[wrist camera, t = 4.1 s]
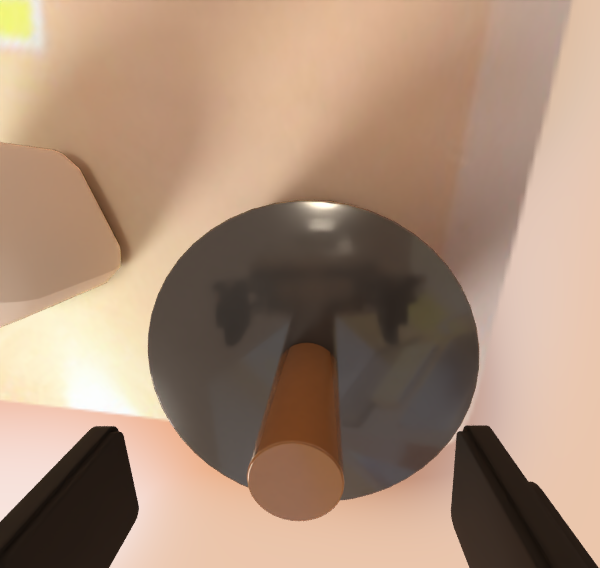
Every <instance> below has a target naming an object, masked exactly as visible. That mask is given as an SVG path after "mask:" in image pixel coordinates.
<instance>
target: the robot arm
mask: <svg viewBox="0 0 600 568" xmlns="http://www.w3.org/2000/svg"><path fill="white" fill-rule="evenodd" d="M138 510H139V506H138V501H137V496H136V492H135V487H134V482H133V477H132V473H131V468H130V463H129V459H128V454H127V450H126V445H125V440H124V436H123V434H122V433H121V432H119V431H118V429H117V428H116V427H114V426H113V427H112V426H102V427H101V426H96V427H93V428H91V429H90V430H89V431H88V432H87V433H86V434H85V435H84V436H83V437H82V438H81V439H80V441H78V443H77V444H76V445H75V446H74V447H73V448H72V449H71V450H70V451H69V452H68V453H67V454H66V455H65V456H64V457H63V458H62V459H61V460H60V461H59V462H58V463H57V464H56V465H55V466H54V467H53V468H52V469H51V470H50V471H49V472H48V473H47V474H46V475H45V476H44V478H42V480H41V481H40V482H39V483H38V484H37V485H36V486H35V487H34V488H33V489H32V490H31V491H30V492H29V493H28V494H27V495H26V496H25V497H24V498H23V499H22V500H21V501H20V502H19V503H18V504H17V505H16V506H15V507H14V508H13V509H12V510H11V511H10V512H9V513H8V515H7V516H6V517H5V518H4V519H3V520H2V521H1V522H0V568H109V567H110V565H111V563H112V561H113V560H114V558H115V556H116V554H117V553H118V551H119V549H120V547H121V546H122V544H123V542H124V540H125V539H126V537H127V535H128V533H129V531H130V530H131V528H132V526H133V524H134V523H135V521H136V518H137V515H138ZM451 517H452V522H453V525H454V529H455V531H456V534H457V537H458V539H459V542H460V544H461V547H462V549H463V552H464V555H465V557H466V560H467V562H468V565H469V568H598V566H597V565H596V564H595V562H594V561H593V560H592V558H591V557H590V555H589V554H588V553H587V551H586V550H585V548H584V547H583V546H582V544H581V543H580V542H579V540H578V539H577V538H576V536H575V535H574V533H573V532H572V531H571V529H570V528H569V526H568V525H567V524H566V522H565V521H564V520H563V519H562V517H561V515H560V514H559V513H558V511H557V510H556V509H555V507H554V506H553V504H552V503H551V502H550V500H549V499H548V498H547V496H546V495H545V494H544V492H543V491H542V489H540V487H539V486H538V485H537V484H535V483H534V482H528V481H527V479H526V478H525V476H524V475H523V474H522V472H521V471H520V469H519V468H518V467H517V465H516V464H515V462H514V461H513V459H512V458H511V456H510V455H509V454H508V452H507V451H506V449H505V448H504V446H503V445H502V444H501V442H500V441H499V439H498V438H497V436H496V435H495V434H494V432H493V431H492V429H491V428H490V427H489V426H465V427H464V429H463V431H459V432H458V433H457V438H456V451H455V464H454V478H453V491H452V504H451Z"/></svg>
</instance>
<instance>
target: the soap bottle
mask: <svg viewBox="0 0 600 568" xmlns="http://www.w3.org/2000/svg"><path fill="white" fill-rule="evenodd" d="M120 266H121V251H120V246H119V244H118V242H117V240H116V238H115V236H114V234H113V232H112V230H111V229H110V227H109V225H108V223H107V221H106V219H105V217H104V215H103V213H102V211H101V209H100V207H99V205H98V203H97V201H96V199H95V198H94V196H93V194H92V192H91V190H90V188H89V186H88V184H87V182H86V180H85V178H84V176H83V174H82V172H81V170H80V169H79V168H78V167H77V166H76V165H75V164H74V163H73V162H72V161H71V160H69V159H68V158H67V157H66V156H65V155H64V154H62V153H60V152H58V151H56V150H51V149H44V148H37V147H30V146H23V145H16V144H9V143H2V142H0V328H1V327H3V326H6V325H8V324H11V323H13V322H16V321H18V320H21V319H23V318H26V317H28V316H30V315H33V314H35V313H37V312H40V311H42V310H44V309H47V308H49V307H51V306H54V305H56V304H58V303H61V302H63V301H65V300H68V299H70V298H72V297H75V296H77V295H79V294H82V293H84V292H86V291H89V290H91V289H94V288H96V287H98V286H101V285H103V284H105V283H107V282H108V280H109V279H110V278H111V277H112V276H113V275H114V274H115V272H116V271H117V270H118V269H119V268H120Z"/></svg>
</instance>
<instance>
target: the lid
mask: <svg viewBox="0 0 600 568" xmlns="http://www.w3.org/2000/svg"><path fill="white" fill-rule="evenodd" d="M148 358H149V366H150V373H151V377H152V381H153V385H154V389H155V392H156V394H157V397H158V399H159V402H160V404H161V407H162V409H163V410H164V412H165V414H166V416H167V418H168V420H169V421H170V423H171V425H172V426H173V427H174V429H175V430H176V432H177V433H178V434H179V436H180V437H181V438H182V440H183V441H184V442H185V443H186V444H187V445H188V446H189V447H190V448H191V449H192V450H193V451H194V453H196V454H197V455H198V456H199V457H200V458H201V459H203V460H204V461H205V462H206V463H207V464H208V465H210V466H211V467H213V468H214V469H216V470H217V471H219V472H220V473H221V474H223V475H224V476H226V477H228V478H230V479H232V480H234V481H235V482H237V483H239V484H241V485H243V486H246V487H248V488H249V490H250V492H251V494H252V496H253V498H254V499H255V501H256V502H257V503H258V504H259V505H260V506H261V507H262V508H263V509H264V510H266V511H267V512H269V513H271V514H272V515H274V516H277V517H279V518H283V519H286V520H291V521H306V520H312V519H316V518H319V517H321V516H323V515H325V514H327V513H328V512H330V511H331V510H332V509H333V508H334V507H335V506H336V505H337V504H338V502H339V501H340V500H347V499H353V498H357V497H362V496H366V495H369V494H373V493H375V492H378V491H381V490H384V489H386V488H389V487H391V486H393V485H395V484H397V483H399V482H401V481H403V480H405V479H407V478H408V477H410V476H411V475H413V474H414V473H416V472H417V471H419V470H420V469H422V468H423V467H424V466H425V465H426V464H428V463H429V462H430V461H431V460H432V459H433V458H435V457H436V456H437V455H438V454H439V453H440V451H441V450H442V449H443V448H444V447H445V446H446V445H447V444H448V442H449V441H450V440H451V439H452V437H453V436H454V434H455V433H456V431H457V430H458V428H459V427H460V425H461V423H462V421H463V419H464V417H465V415H466V413H467V411H468V409H469V407H470V404H471V401H472V398H473V395H474V391H475V388H476V382H477V376H478V370H479V343H478V335H477V328H476V324H475V320H474V317H473V314H472V310H471V307H470V304H469V302H468V300H467V298H466V296H465V294H464V292H463V289H462V287H461V285H460V284H459V282H458V281H457V279H456V278H455V276H454V275H453V273H452V272H451V270H450V269H449V267H448V266H447V265H446V264H445V263H444V262H443V260H442V259H441V258H440V257H439V256H438V255H437V254H436V253H435V252H434V250H433V249H431V248H430V247H429V246H428V245H427V244H426V243H424V242H423V241H422V240H421V239H420V238H418V237H417V236H416V235H415V234H413V233H412V232H410V231H408V230H407V229H405V228H404V227H402V226H400V225H399V224H397V223H396V222H394V221H392V220H390V219H388V218H385V217H383V216H381V215H379V214H376V213H374V212H372V211H369V210H366V209H363V208H359V207H356V206H352V205H349V204H344V203H337V202H331V201H324V200H296V201H288V202H279V203H274V204H270V205H266V206H263V207H259V208H255V209H251V210H249V211H247V212H244V213H242V214H239V215H237V216H235V217H232V218H230V219H228V220H226V221H225V222H223V223H221V224H220V225H218V226H216V227H215V228H213V229H211V230H210V231H209V232H207V233H206V234H205V235H204V236H202V237H201V238H200V239H199V240H197V241H196V242H195V243H194V244H193V245H192V246H191V247H190V248H189V249H188V250H187V251H186V252H185V253H184V254H183V255H182V256H181V257H180V259H179V260H178V261H177V263H176V264H175V266H174V267H173V268H172V270H171V271H170V273H169V274H168V276H167V277H166V279H165V281H164V283H163V285H162V287H161V289H160V291H159V294H158V296H157V299H156V302H155V305H154V308H153V311H152V315H151V321H150V327H149V333H148Z"/></svg>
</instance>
